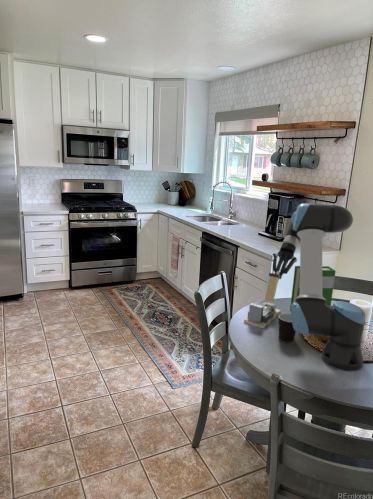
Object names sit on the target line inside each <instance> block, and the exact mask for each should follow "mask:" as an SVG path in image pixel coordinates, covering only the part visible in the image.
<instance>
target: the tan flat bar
mask: <svg viewBox="0 0 373 499" xmlns="http://www.w3.org/2000/svg"><path fill="white" fill-rule="evenodd" d="M268 276H269V279H268V282H267V289H266V292H265V297H264V301H265V302H266V301H267V302H269V303H274V302H275V298H276V297H275V296H276V293H277V288H278V283H279V280H280V279H279V278H280V275H278V274H274V273H273V272H269V273H268ZM278 279H279V280H278Z"/></svg>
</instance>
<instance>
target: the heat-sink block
mask: <svg viewBox="0 0 373 499" xmlns="http://www.w3.org/2000/svg"><path fill="white" fill-rule="evenodd" d="M276 305H277V304H275V303H272V302H268V301H267V302H266V301H263V302H262V303H258V304H255V303H252V302H251V303H250V304H249V310H248V311H247V317H248V318H249V321H252V322H256V323H259V324H261V323H262V322H263V323H266V322H267V321H268V320H269V319H270V318H272V317H273V316H274V313H275V309H277V308H276V307H277V306H276Z"/></svg>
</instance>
